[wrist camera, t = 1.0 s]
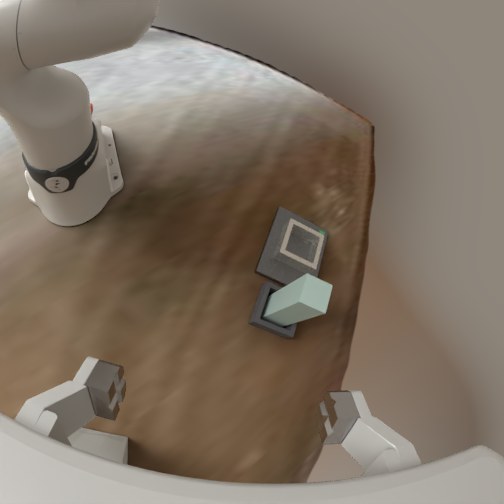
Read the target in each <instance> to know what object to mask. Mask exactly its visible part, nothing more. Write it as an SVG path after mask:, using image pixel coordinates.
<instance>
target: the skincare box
mask: <svg viewBox="0 0 504 504" xmlns="http://www.w3.org/2000/svg"><path fill="white" fill-rule="evenodd" d="M68 440H69V442H70V443H71V445H72V447H74V448H77V449H80V450H83V451H85V452H88V453H91V454H94V455H97V456H100V457H103V458H106V459H110V460H113V461H116V462H120V463H123V464H127V461H128V437H125V436H120V435H114V434H110V433H105V432H100V431H96V430H90V429H86V428H82V427H81V428H80V429H79V430H77V431H76V432H74V433H73V434H72V435H70V436H69V437H68Z"/></svg>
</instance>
